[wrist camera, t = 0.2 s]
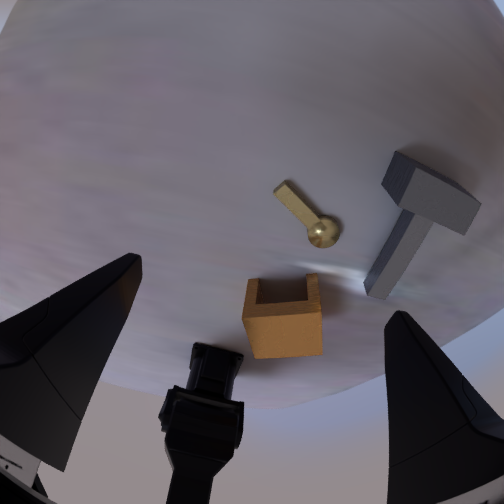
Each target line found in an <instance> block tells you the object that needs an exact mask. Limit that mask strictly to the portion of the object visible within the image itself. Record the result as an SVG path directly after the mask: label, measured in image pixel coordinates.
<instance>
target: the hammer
mask: <svg viewBox="0 0 504 504" xmlns="http://www.w3.org/2000/svg"><path fill="white" fill-rule="evenodd" d="M381 185H382V186H383V187H384V189H385V190H386V191H387V192H388V194H389V195H390V196H391V198H392V199H393V200H394V202H395V203H396V204H397V206H398V207H401V208H403V209H404V210H403V212H402V214H401V216H400V218H399V220H398V222H397V224H396V226H395V228H394V230H393V232H392V233H391V235H390V237H389V239H388V241H387V243H386V244H385V246H384V248H383V250H382V251H381V253H380V255H379V257H378V258H377V260H376V262H375V264H374V265H373V267H372V269H371V270H370V272H369V274H368V275H367V277H366V279H365V280H364V282H363V283H364V287H365V290H366V294H367V296H371V297H375V298H379V299H383V300H385V299H386V298H387V296H388V295H389V293H390V292H391V291H392V289H393V288H394V286H395V285H396V283H397V282H398V280H399V279H400V277H401V276H402V274H403V272H404V271H405V269H406V268H407V266H408V265H409V263H410V261H411V260H412V258H413V257H414V255H415V253H416V252H417V250H418V248H419V247H420V245H421V243H422V242H423V240H424V238H425V236H426V235H427V233H428V231H429V229H430V228H431V226H432V224H433V222H436V223H438V224H440V225H442V226H445V227H447V228H449V229H451V230H453V231H455V232H457V233H459V234H462V235H465V233H466V232H467V230H468V228H469V226H470V225H471V223H472V221H473V219H474V217H475V215H476V214H477V212H478V210H479V208H480V206H481V203H480V202H479V201H478V200H477V199H476V198H474V197H473V196H472V195H471V194H470V193H469V192H468V191H466V190H465V189H464V188H463V187H462V186H460V185H459V184H458V183H456V182H455V181H453V180H451V179H449V178H448V177H446V176H444V175H442V174H440V173H439V172H437V171H435V170H433V169H431V168H429V167H427V166H425V165H423V164H421V163H419V162H417V161H415V160H413V159H411V158H409V157H407V156H405V155H403V154H401V153H399V152H397V151H395V153H394V156H393V158H392V160H391V163H390V165H389V167H388V170H387V172H386V174H385V177H384V179H383V181H382V184H381Z"/></svg>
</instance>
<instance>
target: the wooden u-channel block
mask: <svg viewBox="0 0 504 504" xmlns="http://www.w3.org/2000/svg"><path fill="white" fill-rule="evenodd" d="M306 276H307V290H308V300H306V301H295V302H283V303H270V304H264V300H263V295H262V291H261V287H260V282H259V278H258V279H248V284H247V290H246V296H245V302H244V307H243V313H242V321H243V324H244V327H245V330H246V333H247V336H248V339H249V342H250V345H251V348H252V351H253V354H254V357H255V359H261V358H284V357H300V356H313V355H322V313H321V303H320V294H319V285H318V277H317V273H313V274H306Z"/></svg>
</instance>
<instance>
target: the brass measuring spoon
mask: <svg viewBox="0 0 504 504" xmlns="http://www.w3.org/2000/svg"><path fill="white" fill-rule="evenodd" d="M273 195H274V196H276V197H277V198H278V199H279V200H280V201H281V202H282V203H283V204H284V205H285V206H286V207H287V208H288V209H289V210H290V211H291V212H292V213H293V214H294V215H295V216H296V217H297V218H298V219H299V220H300V221H301V222H302V223H303V224H304V225H305V226H306V227H307V232H308V238H309V241H310V242H311V244H313V245H314V246H316V247H318V248H328V247H330V246H332V245H334V244H335V243H336V242H337V240H338V239H339V235H340V233H339V228H338V225H337V223H336V221H335V220H334V219H333V218H332V217H330V216H326V215H321V216H319V215H318V213H317V212H316V211H315V210H314V209H313V208H312V207H311V206H310V205H309V204H308V203H307V202H306V201H305V200H304V199H303V198H302V197H301V196H300V195H299V194H298V193H297V192H296V191H295V190H294V189H293V188H292V187H291V186H290V185H289V184H288V183H287V182H286V181H285V180H284V181H283V182H282V183H281V184H280V185H279V186H277V187H276V188H275V189H274V192H273Z"/></svg>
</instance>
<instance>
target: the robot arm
mask: <svg viewBox="0 0 504 504" xmlns="http://www.w3.org/2000/svg"><path fill="white" fill-rule="evenodd" d="M141 280H142V258H141V256H140V255H138V254H134V253H128V254H126V255H124V256H122V257H120V258H118V259H116V260H114V261H112V262H110V263H108V264H107V265H105V266H103V267H101V268H99V269H97V270H95V271H94V272H92V273H90V274H88V275H86V276H84V277H83V278H81V279H79V280H77V281H75V282H74V283H72V284H70V285H68V286H67V287H65V288H63V289H61V290H60V291H58V292H56V293H54V294H53V295H51V296H50V297H47V298H46V299H44V300H42V301H41V302H39V303H37V304H35V305H33V306H32V307H30V308H28V309H26V310H24V311H22V312H20V313H19V314H17V315H15V316H13V317H11V318H9V319H7V320H5V321H3V322H1V323H0V504H57V503H55V502H53V501H51V500H50V499H48V496H47V494H46V491H45V489H44V487H43V485H42V483H41V481H40V478H39V476H38V474H37V470H38V467H39V465H40V462H41V461H43V462H45V463H46V464H48V465H51V466H52V467H54V468H56V469H58V470H60V471H62V472H64V470H65V467H66V465H67V462H68V459H69V455H70V453H71V450H72V447H73V444H74V441H75V438H76V436H77V433H78V430H79V427H80V425H81V421H82V419H83V417H84V414H85V411H86V409H87V406H88V404H89V402H90V399H91V397H92V394H93V392H94V389H95V387H96V384H97V382H98V380H99V378H100V376H101V373H102V371H103V369H104V366H105V364H106V362H107V360H108V358H109V355H110V353H111V351H112V349H113V347H114V345H115V343H116V340H117V338H118V336H119V334H120V332H121V330H122V328H123V326H124V324H125V322H126V320H127V317H128V315H129V312H130V310H131V307H132V304H133V301H134V299H135V296H136V293H137V291H138V288H139V285H140V283H141ZM384 342H385V375H386V386H387V400H388V420H389V475H388V495H387V504H504V420H503V419H502V418H501V417H500V416H499V415H498V414H497V413H496V412H495V411H494V410H493V409H492V408H491V407H490V405H489V404H488V403H487V402H486V401H485V400H484V399H483V398H482V397H481V395H480V394H479V393H478V392H477V391H476V390H475V389H474V387H473V386H472V385H471V384H470V383H469V382H468V380H467V379H466V378H465V377H464V376H463V375H462V373H461V372H460V371H459V370H458V368H457V367H456V366H455V365H454V364H453V363H452V361H451V360H450V359H449V358H448V357H447V356H446V355H445V353H444V352H443V351H442V350H441V349H440V348H439V346H438V345H437V344H436V343H435V342H434V341H433V340H432V339H431V338H430V336H429V335H428V334H427V333H426V332H425V331H424V330H423V329H422V328H421V327H420V325H419V324H418V323H417V322H416V321H415V320H414V319H413V318H412V317H411V316H410V315H409V314H408V313H407V312H405V311H400V310H397V311H396V312H395V313H394V314H393V315H392V317H391V318H390V320H389V321H388V323H387V324H386V326H385V329H384ZM243 358H244V356H243V355H241V354H237V353H233V352H229V351H225V350H221V349H217V348H213V347H209V346H205V345H201V344H197V343H195V344H193V348H192V354H191V361H190V367H189V368H190V370H191V371H190V375H189V378H188V382H187V386H186V389H184V388H181V387H179V386H177V385H174V387H173V389H168V392H167V395H166V399H165V401H164V404H163V406H162V408H161V411H160V413H159V416H158V418H159V419H160V421H161V426H162V429H161V431H162V432H165V433H166V436H165V451H166V454H167V457H168V459H169V462H170V465H171V467H172V470H173V474H172V479H171V483H170V488H169V492H168V496H167V501H166V504H209V500H210V494H211V488H212V482H213V477H214V476H215V475H216V474H217V473H218V472H219V471H220V470H221V469H222V468H223V467H224V466H225V465H226V464H227V463H228V461H229V460H230V459H231V458H232V457H233V455H234V449H237V448H238V447H239V445H240V442H241V438H242V434H243V421H244V402H241V401H240V402H238V401H233V400H231V396H232V390H233V384H234V379H235V377H236V375H237V373H238V370H239V368H240V366H241V364H242V361H243Z"/></svg>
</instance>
